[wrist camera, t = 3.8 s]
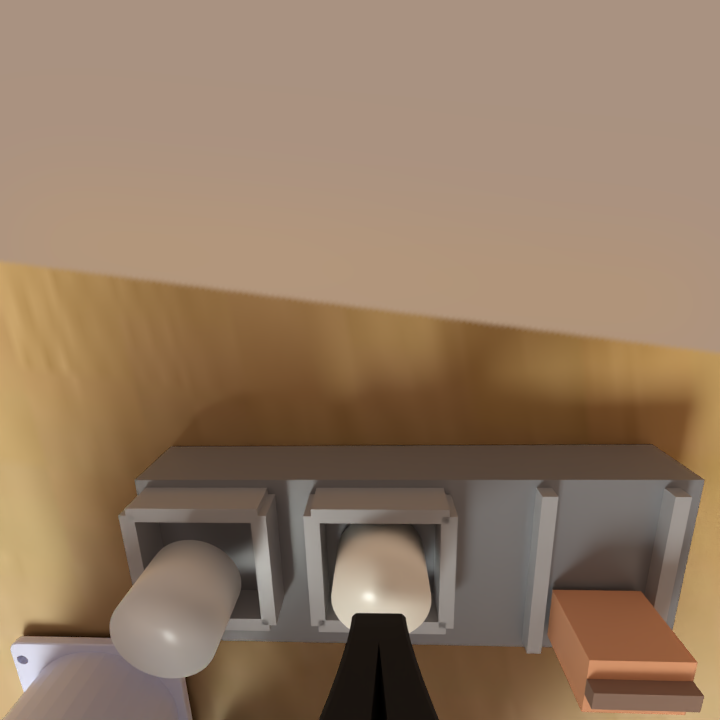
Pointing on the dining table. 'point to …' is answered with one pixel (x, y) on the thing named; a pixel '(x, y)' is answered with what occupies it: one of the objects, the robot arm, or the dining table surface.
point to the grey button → (177, 610)
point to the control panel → (425, 529)
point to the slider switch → (621, 654)
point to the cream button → (381, 573)
